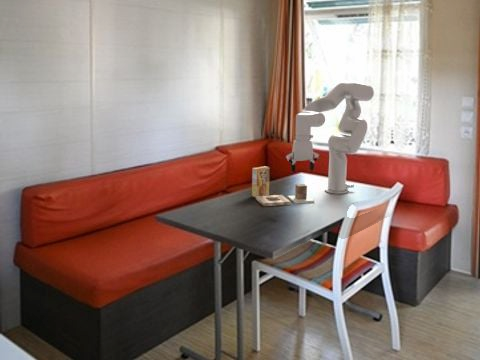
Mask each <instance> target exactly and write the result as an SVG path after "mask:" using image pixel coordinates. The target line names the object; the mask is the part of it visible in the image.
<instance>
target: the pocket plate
mask: <svg viewBox="0 0 480 360" xmlns="http://www.w3.org/2000/svg"><path fill="white" fill-rule="evenodd" d="M255 200H256V201H257V202H258V203H259V204H261V205H262V207H270V206H271V207H272V206H274V207H276V206H289V205H291V204H292V203H291V202H292V201H291V200H290V199H289V198H286V197H285V196H284V195H283V194H273V195H270V194H269V195H267V196H256V197H255Z"/></svg>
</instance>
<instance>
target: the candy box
mask: <svg viewBox="0 0 480 360" xmlns="http://www.w3.org/2000/svg"><path fill="white" fill-rule="evenodd" d="M270 172H271V171H270V167H269V166H265V165H264V166H258V167H252V172H251V173H252V176H251V178H252V179H251V180H252V181H251V196H252V197H254V198H256V196H269V195H270Z"/></svg>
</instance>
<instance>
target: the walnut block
mask: <svg viewBox="0 0 480 360" xmlns="http://www.w3.org/2000/svg"><path fill="white" fill-rule="evenodd" d="M307 190H308V186H307V184H305V183H296V184H295V190H294V192H295V194H294V195H295V198H297V199H298V200H299V199H306V198H307V196H308V194H307V192H308V191H307Z"/></svg>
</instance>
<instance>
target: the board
mask: <svg viewBox="0 0 480 360" xmlns="http://www.w3.org/2000/svg"><path fill="white" fill-rule="evenodd" d="M287 199H288V200H289V201H290V202H293V203H294V204H295V205H296V204H312V203H315V200H314V199H312V198H311V197H309V196H308V195H307V198H306V199H299V200H298V199H297V198H295V194H294V195H287Z"/></svg>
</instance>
